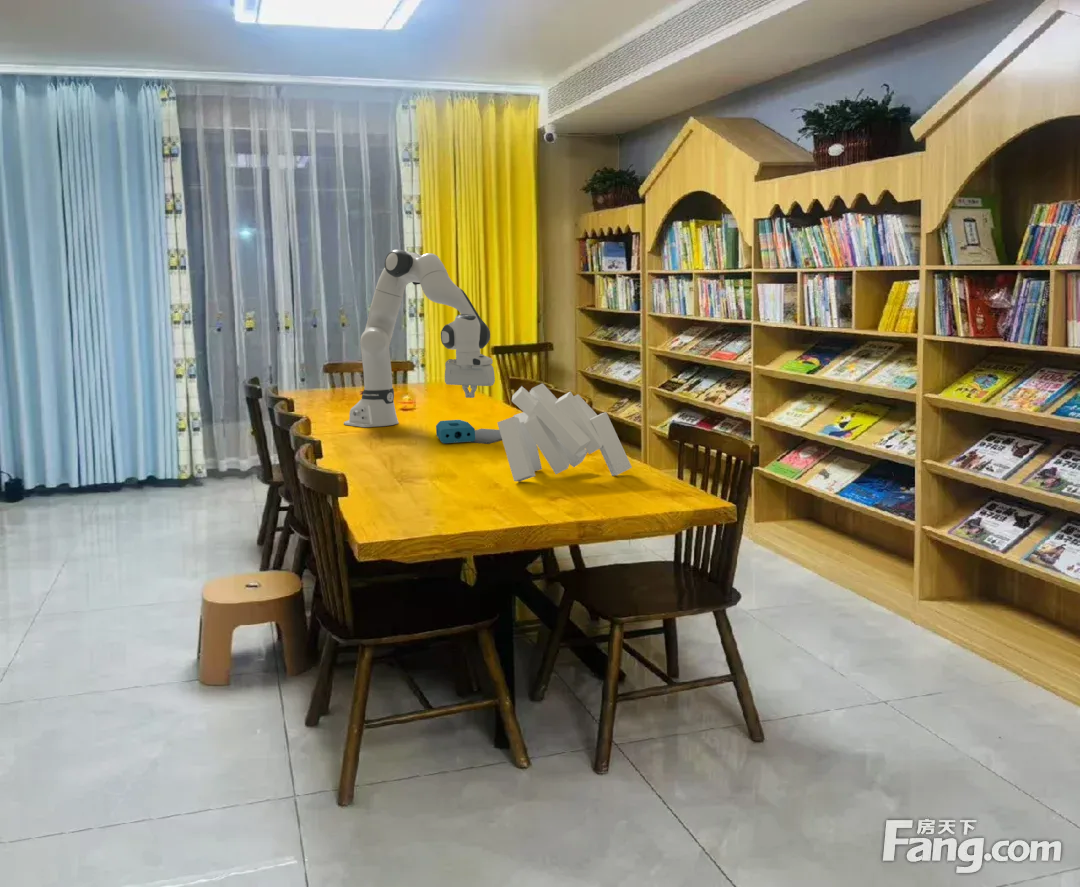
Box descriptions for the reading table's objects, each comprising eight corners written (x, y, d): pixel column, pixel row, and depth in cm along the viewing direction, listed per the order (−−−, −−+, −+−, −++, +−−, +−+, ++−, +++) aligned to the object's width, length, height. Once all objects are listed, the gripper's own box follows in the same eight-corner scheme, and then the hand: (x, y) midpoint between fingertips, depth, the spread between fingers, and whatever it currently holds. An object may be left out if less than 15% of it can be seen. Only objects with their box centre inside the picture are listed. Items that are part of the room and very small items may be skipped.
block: (466, 419, 385) (474, 427, 366) (466, 432, 386) (475, 441, 366) (433, 421, 382) (440, 429, 363) (434, 434, 383) (441, 443, 364)
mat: (443, 440, 374) (443, 438, 374) (481, 430, 394) (481, 428, 394) (489, 443, 364) (489, 442, 363) (526, 433, 384) (526, 431, 383)
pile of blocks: (614, 480, 322) (565, 379, 326) (649, 458, 294) (596, 348, 298) (515, 525, 310) (466, 419, 314) (542, 506, 282) (488, 391, 286)
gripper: (440, 359, 380) (442, 397, 382) (486, 360, 369) (487, 399, 372) (450, 358, 385) (452, 395, 388) (496, 359, 375) (497, 397, 377)
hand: (470, 397), depth 380 cm, fingers closed
